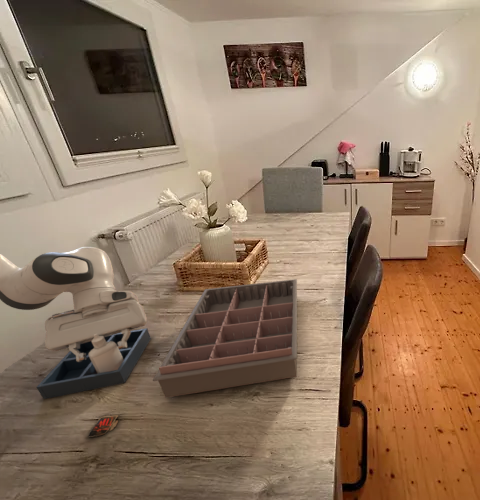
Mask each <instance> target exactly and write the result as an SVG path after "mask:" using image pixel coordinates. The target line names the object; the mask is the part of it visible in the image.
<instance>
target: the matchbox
mask: <svg viewBox="0 0 480 500" xmlns="http://www.w3.org/2000/svg"><path fill="white" fill-rule="evenodd" d="M117 418H118V414H116V415H109V414H108V415H103V416H101V417H99V418H98V420H97V421H96V422H95V424H94V425H93V427H92V428H91V429H90V430H89V433H88V436H87V437H88V438H96V437H99V436H103V435H105V434H106V433H107V432H110V431H113V430H114V428H116V426H117V424H118V423H119V420H116V419H117Z"/></svg>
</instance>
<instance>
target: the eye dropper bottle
mask: <svg viewBox="0 0 480 500" xmlns="http://www.w3.org/2000/svg"><path fill="white" fill-rule="evenodd" d="M91 342H92V344H93V346H94V348H93V349H92V350H91V351H90V352H89V354H88V355H89V358H90V360H91V362H92V364H93V366H94V367H95V369H96V371H97V373H103V372H109V371H114V370H118V368H119V367H120V365H121V364H122V362H123V361H124V359H123V357H122V355H121V353H120V351H119V348H118V346H117V345H116V343H115V342H113V341H110V342H106V341H105V339H104V337H103V336H99V335H98V334H94V339H93V340H92V341H91Z"/></svg>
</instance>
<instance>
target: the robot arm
mask: <svg viewBox="0 0 480 500" xmlns="http://www.w3.org/2000/svg"><path fill="white" fill-rule="evenodd" d="M114 279H115V274H114V268H113V263H112V261H111V259H110V256H109V255H108V253H107V252H106V251H105V250H104V249H101V248H98V247H93V246H82V247H78V248H75V249H73V250H71V251H67V252H59V251H52V252H51V251H50V252H46V253H45V252H44V253H42V254H39V255H38V256H36V257H35V258H34V259H32V260H31V261H29V262H28V263H26V264H25V265H24V266H23V267H19V266H17V265H16V264H15V263H13V262H12V261H11V260H10V259H8V258H7V257H6V256H4V255H3V254H2V253H0V301H1V302H2V303H3V304H5V305H6V306H8V307H10V308H13V309H16V310H22V311H32V310H38V309H42V308H44V307H46V306H47V305H50V303H51V302H53V301H54V300H55V299H56V298H58V296H60V295H62V294H63V293H70V294H72V301H73V304H72V305H73V309H70V310H66V311H64V312H60V313H59V312H58V313H54V314H52V315H51V316H50V317H48V318H47V319H46V320H45V321H44V329H45V338H44V341H45V342H44V347H45V348H46V349H47V350H48V351H52V352H59V351H62V350H65V349H68V350H69V351H71V352H72V353H74V354H75V355H76V361H77V362H82V361H85V360H87V357H86V356H87V353H81V352H79V351H78V350H77V349H80V344H83V343H86V342H90V341H92V340H93V339H94V334H98V335H99V336H103V337H107V336H111V335H114V334H117V333H122V334H123V335H124V336H123V338H122V340H121V341H120V342H118V345H119V346H118V348H119V349H123V348H127V340H128V338H129V336H130V334H131V333H130V331H132V330H134V329H135V330H136V329H138V328H141V327H144V326H146V325H147V323H148V317H147V313H146V311H145V309H144V306H143V305H142V304H140V302H139V297H138V295H137V294H136V293H134V292H132V291H131V290H117V289H116V286H115V285H114Z"/></svg>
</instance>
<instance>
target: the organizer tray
mask: <svg viewBox="0 0 480 500" xmlns="http://www.w3.org/2000/svg"><path fill="white" fill-rule="evenodd" d="M297 377H298V279H297V278H294V279H285V280H276V281H275V280H274V281H267V282H258V283H250V284H249V283H248V284H241V285H240V284H239V285H230V286H222V287H214V288H205V289H204V290H203V292H202V294H201V295H200V298H199V299H198V301H197V303H196V304H195V306H194V308H193V310H192V311H191V313H190V315H189V316H188V318H187V320H186V321H185V324H184V325H183V327H182V328H181V330H180V332H179V334H178V336H177V337H176V339H175V340H174V342H173V344H172V346H171V347H170V349H169V351H168V353H167V354H166V355H165V358H164V360H163V361H162V363H161V365H160V366H159V367H158V370H157V371H156V373H155V374H154V377H153V378H152V382H158V383H159V387H160V388H161V390H162V393H163V396H164V398H165V399H166V398H167V399H168V398H172V397H179V396H186V395H191V394H197V393H203V392H211V391H216V390H221V391H223V390H224V389H228V388H234V387H241V386H247V385H252V384H253V385H255V384H259V383H266V382H272V381H277V380H283V379H285V380H286V379H291V378H297ZM222 389H223V390H222Z"/></svg>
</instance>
